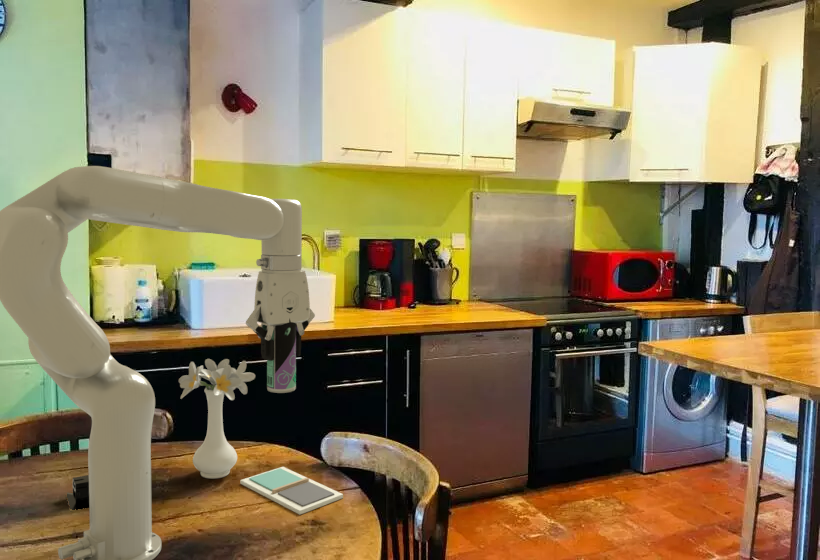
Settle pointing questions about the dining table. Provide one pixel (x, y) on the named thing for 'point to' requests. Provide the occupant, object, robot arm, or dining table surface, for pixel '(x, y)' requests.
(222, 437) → the flower vase
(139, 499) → the robot arm
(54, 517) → the dining table surface
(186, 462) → the dining table surface
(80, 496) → the black angular piece
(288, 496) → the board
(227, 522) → the dining table surface
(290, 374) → the spray can
